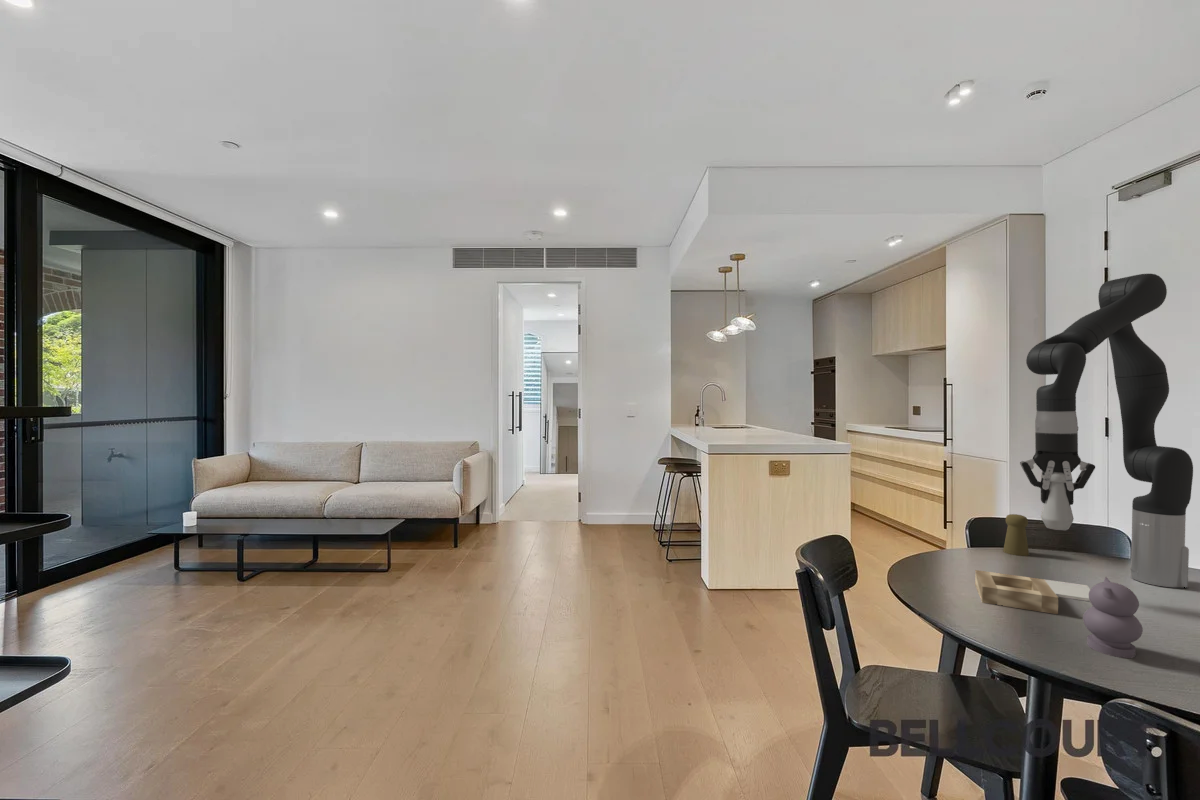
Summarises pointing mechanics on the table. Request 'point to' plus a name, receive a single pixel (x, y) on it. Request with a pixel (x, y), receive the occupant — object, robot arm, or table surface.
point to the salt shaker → (1057, 504)
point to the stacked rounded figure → (1112, 619)
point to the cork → (1016, 535)
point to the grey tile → (1069, 590)
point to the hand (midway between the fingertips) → (1056, 505)
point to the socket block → (1016, 591)
